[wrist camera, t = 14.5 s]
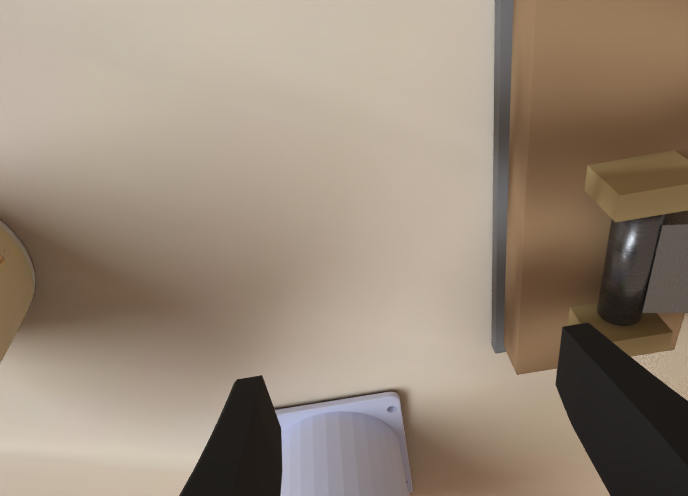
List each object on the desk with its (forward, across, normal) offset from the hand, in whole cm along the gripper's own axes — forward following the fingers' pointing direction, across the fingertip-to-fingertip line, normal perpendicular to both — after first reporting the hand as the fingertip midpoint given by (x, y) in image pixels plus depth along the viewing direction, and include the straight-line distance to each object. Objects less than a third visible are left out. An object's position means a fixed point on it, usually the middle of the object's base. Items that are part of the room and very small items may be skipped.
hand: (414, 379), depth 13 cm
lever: (+6, -9, +3) cm, 11 cm away
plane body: (+10, -9, -1) cm, 13 cm away
